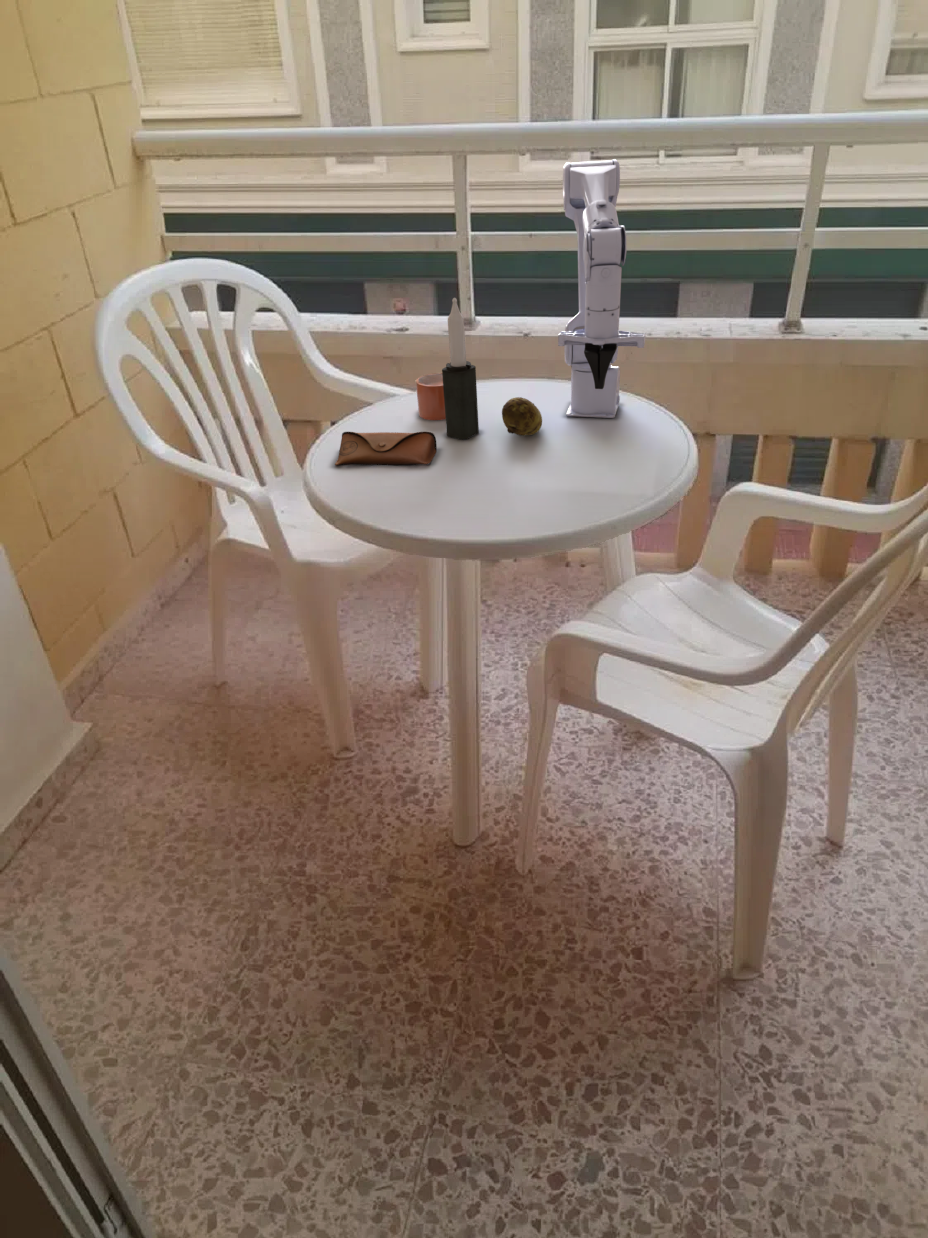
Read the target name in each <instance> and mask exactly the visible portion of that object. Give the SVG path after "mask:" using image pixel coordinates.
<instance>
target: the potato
mask: <svg viewBox="0 0 928 1238" xmlns="http://www.w3.org/2000/svg"><path fill="white" fill-rule="evenodd" d="M501 418H502V422H503V425H504V426H505V427H506V431H507V433H508V434H512V435H513V434H515V435H518V436H532V435H535V434H537V433H538V432H539V431H540V429H541V428H542V425H543V416H542V413H541V411H540V409H539V408H538V407H537V406H536V404H535V403H534V402H532V401H531V400H529V399H527V398H524V397H522V396H521V397H520V396H518V397H512V398H510V399H508V400H507V401H506V402H505V404H503V406H502V409H501Z"/></svg>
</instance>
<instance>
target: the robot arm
mask: <svg viewBox="0 0 928 1238" xmlns="http://www.w3.org/2000/svg"><path fill="white" fill-rule="evenodd" d="M620 184H621V165H620V162H619V161H618V160H617V159H616V158H613V159H611V160H609V159H608V160H595V161H579V162H578V161H577V162H570V161H566V162H565V164H564V165H563V168H562V198H563V211H564V216H565V217H566V218H568V219H570V220H572V221H573V224H574V227H575V231H576V235H577V236H576V237H577V238H576V239H577V280H578V281H577V284H578V313H577V314H576V315H574V316H573V317H572V318H571V319H569V320H568V321H567V322H566V325H565V326H564V331H559V333H558V335H557V346H558V347H564V348H563V349H564V350H563V351H564V355H563V356H564V363H565V364H566V366H568V367H569V366H570V367H571V373H570V375H571V376H570V378H571V379H570V404H569V406H568V409H567V410H566V413H565V416H566V417H580V418H581V417H583V418H606V419H614V418H615V417H616V414H617V411H618V409H619V406H620V400H621V396H620V388H621V387H620V386H621V385H620V383H621V367H620V366H615V365H614V366H613V364H615V362H616V361H617V360H618V356H619V347H636V348H638V349H644V348H645V345H646V334H647V333H646V332H634V331H627V330H620V313H621V291H622V269H623V267H624V265H625V263H626V258H627V250H628V249H627V248H628V239H627V233H626V232H627V231H626V227H625V225H622V224H619V217H618V212H617V208H616V207H617V201H618V196H619V193H620Z"/></svg>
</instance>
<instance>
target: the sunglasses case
mask: <svg viewBox="0 0 928 1238" xmlns="http://www.w3.org/2000/svg"><path fill="white" fill-rule="evenodd" d="M339 445H340V446H339V450H338V451H339V452H338V457H337V460H336V461H335V463H334V466H338V467H339V466H351V465H352V466H388V467H389V466H391V467H392V466H393V467H406V466H407V467H408V466H421V465H426V466H427V465H430V464H431V463H432V461H433V460H434V458H435V457H436V454H437V450H438V449H437V447H438V446H437V445H438V444H437V439H436V436H435V434H434V433H433V432H430V431H417V432H388V431H387V432H386V431H385V432H384V431H383V432H382V431H379V432H357V431H356V432H355V431H343V432H342V433H341V440H340V444H339Z"/></svg>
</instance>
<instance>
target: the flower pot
mask: <svg viewBox="0 0 928 1238" xmlns="http://www.w3.org/2000/svg"><path fill="white" fill-rule="evenodd" d="M415 386H416V387H415V388H416V398H417V399H416V400H417V409H418V410H417V411H418V417H420V418H421V419H423V420H426V421H427V420H428V421H444V420H446V418H445V404H444V390H443V377H442V372H434V373H433V372H431V373H427V374H424V375H420V376H419V377H417V378H416V380H415Z"/></svg>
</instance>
